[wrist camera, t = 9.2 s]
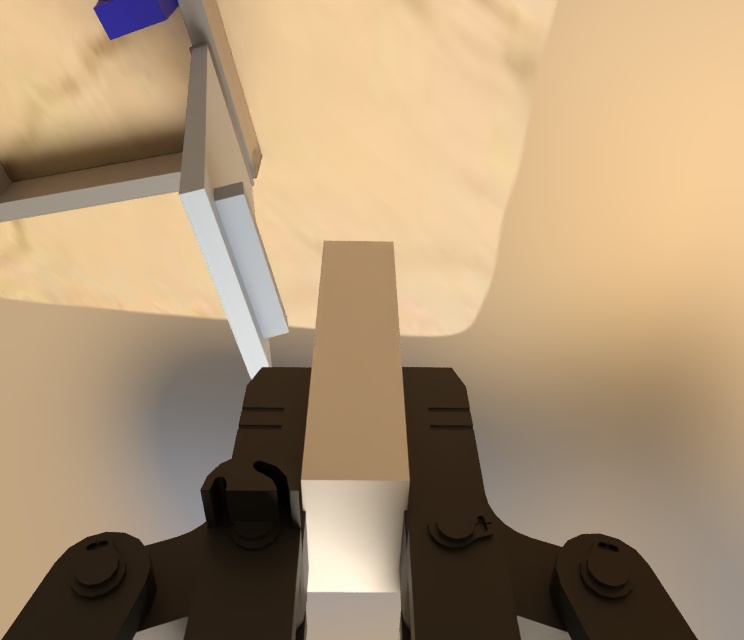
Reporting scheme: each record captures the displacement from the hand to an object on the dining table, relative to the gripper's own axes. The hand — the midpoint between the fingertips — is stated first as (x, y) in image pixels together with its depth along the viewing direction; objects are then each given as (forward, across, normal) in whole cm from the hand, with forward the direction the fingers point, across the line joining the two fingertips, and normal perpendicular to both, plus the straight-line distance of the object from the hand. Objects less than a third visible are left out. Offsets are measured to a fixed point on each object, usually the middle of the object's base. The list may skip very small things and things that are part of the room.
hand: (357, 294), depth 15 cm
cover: (+15, -7, -5) cm, 17 cm away
